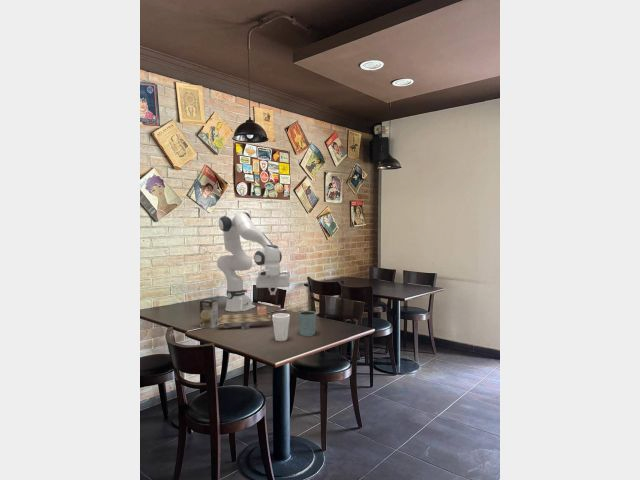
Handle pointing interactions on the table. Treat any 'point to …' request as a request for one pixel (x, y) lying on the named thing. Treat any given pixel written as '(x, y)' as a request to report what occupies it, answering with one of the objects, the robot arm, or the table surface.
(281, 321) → the foam cup
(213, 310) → the coffee box
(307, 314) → the teal cup
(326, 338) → the table surface
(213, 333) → the table surface
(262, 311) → the rider
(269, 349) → the table surface
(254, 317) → the beam
